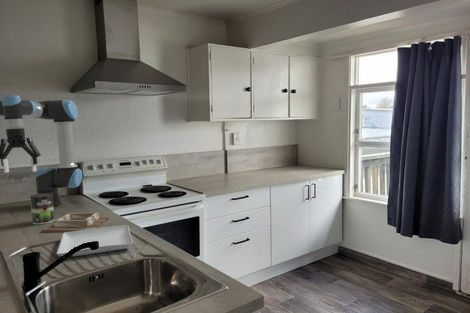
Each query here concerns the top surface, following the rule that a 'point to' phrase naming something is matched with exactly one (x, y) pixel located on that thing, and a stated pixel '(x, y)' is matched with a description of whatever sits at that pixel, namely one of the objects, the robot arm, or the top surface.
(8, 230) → the top surface
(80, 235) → the square plate
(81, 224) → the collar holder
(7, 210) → the top surface
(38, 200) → the coffee can
